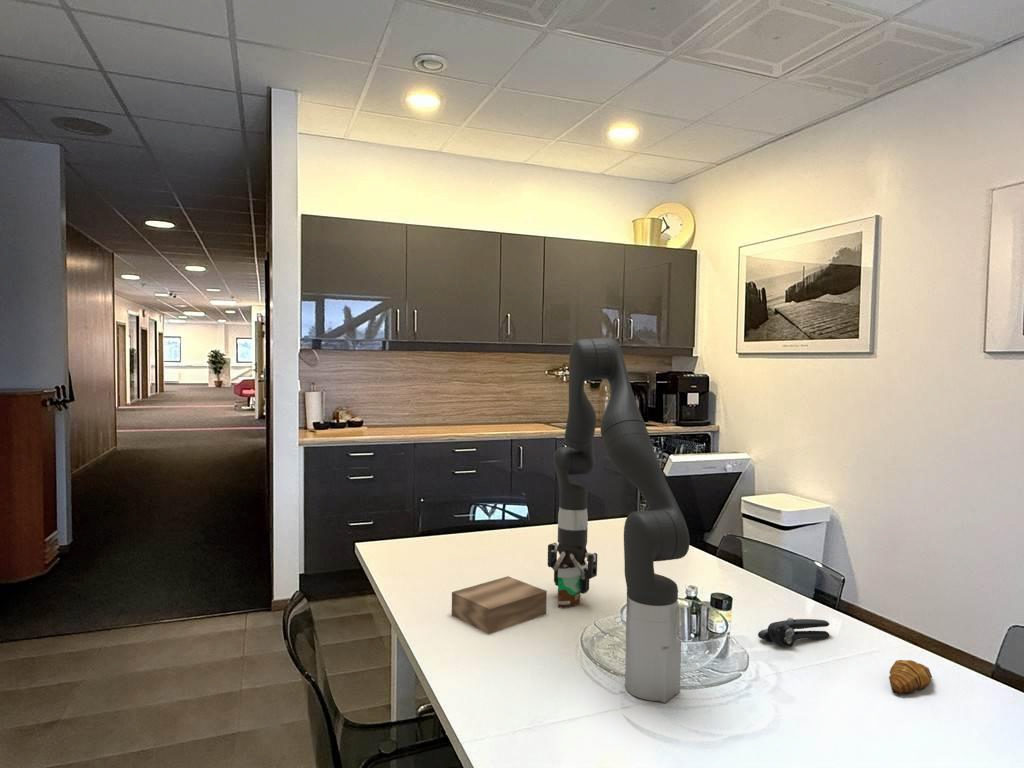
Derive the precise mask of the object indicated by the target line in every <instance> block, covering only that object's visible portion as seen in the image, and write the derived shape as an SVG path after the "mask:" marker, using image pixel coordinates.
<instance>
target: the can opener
mask: <svg viewBox="0 0 1024 768" xmlns="http://www.w3.org/2000/svg"><path fill="white" fill-rule="evenodd" d="M829 625H830V623H829V622H828V621H827V620H824V619H817V618H816V619H813V618H811V619H810V618H796V619H795V618H793V617H789V618H787V620H786V619H785V620H780V621H773V622H771V623H770V624H769V625H768V627H767V628H766V629H761V630H760V631H758V633H757V636H758V638H759V639H761V640H763V641H765V642H768V643H772V644H775V645H776V646H778V647H780V648H791V647H793V645H794V643H795V642H796V641H797V642H798V641H799V640H813V641H815V640H817V641H818V640H822V639H827V638H829V637H830V635H831V634H830V633H829V632H828V631H825V630H804V629H812V628H814V629H815V628H825V627H826V628H827V627H828V626H829Z"/></svg>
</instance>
